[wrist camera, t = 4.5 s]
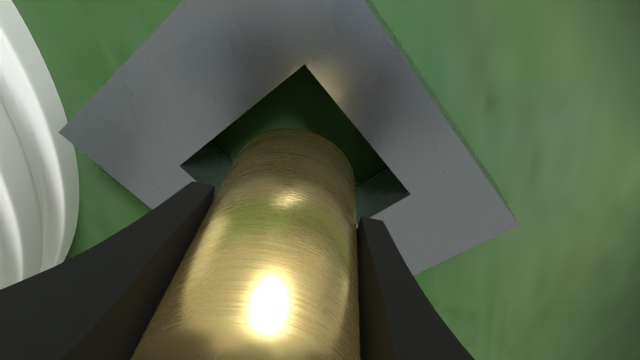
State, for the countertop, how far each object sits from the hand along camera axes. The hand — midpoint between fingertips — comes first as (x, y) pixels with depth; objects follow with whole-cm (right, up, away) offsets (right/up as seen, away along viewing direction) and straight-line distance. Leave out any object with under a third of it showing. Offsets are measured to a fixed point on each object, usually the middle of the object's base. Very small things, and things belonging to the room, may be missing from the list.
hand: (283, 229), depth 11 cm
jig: (0, +3, +4) cm, 5 cm away
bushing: (0, +1, +2) cm, 2 cm away
